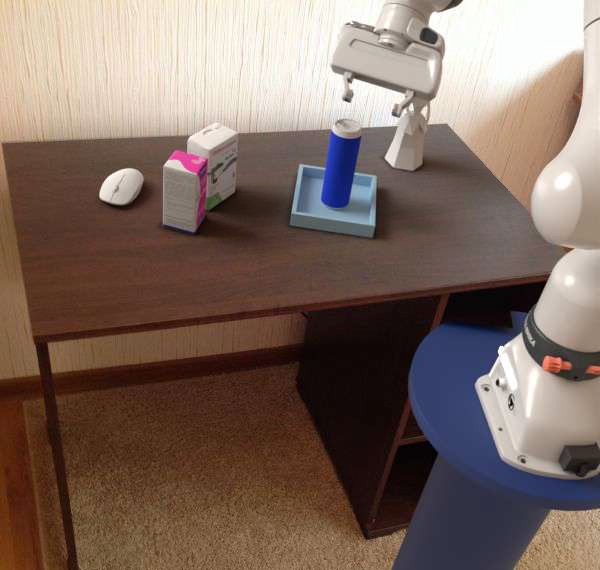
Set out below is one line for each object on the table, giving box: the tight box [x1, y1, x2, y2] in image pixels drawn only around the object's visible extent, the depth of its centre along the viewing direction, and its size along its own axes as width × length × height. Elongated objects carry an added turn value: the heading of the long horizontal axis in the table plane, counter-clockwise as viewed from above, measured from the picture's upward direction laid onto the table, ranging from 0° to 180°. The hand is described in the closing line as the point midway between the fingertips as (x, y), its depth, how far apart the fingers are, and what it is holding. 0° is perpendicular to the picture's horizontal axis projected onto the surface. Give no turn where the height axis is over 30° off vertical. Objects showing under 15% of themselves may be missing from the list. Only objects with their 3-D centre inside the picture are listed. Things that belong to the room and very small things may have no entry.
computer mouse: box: [98, 167, 145, 207], centre depth 130 cm, size 6×10×3 cm, turn 164°
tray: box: [289, 163, 378, 239], centre depth 136 cm, size 17×15×2 cm
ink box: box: [186, 122, 239, 212], centre depth 130 cm, size 9×5×12 cm, turn 149°
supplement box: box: [162, 149, 208, 235], centre depth 124 cm, size 6×6×12 cm
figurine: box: [384, 97, 431, 172], centre depth 144 cm, size 7×8×18 cm
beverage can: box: [321, 118, 363, 210], centre depth 131 cm, size 5×5×15 cm
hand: (370, 108), depth 134 cm, fingers open, 8 cm apart
